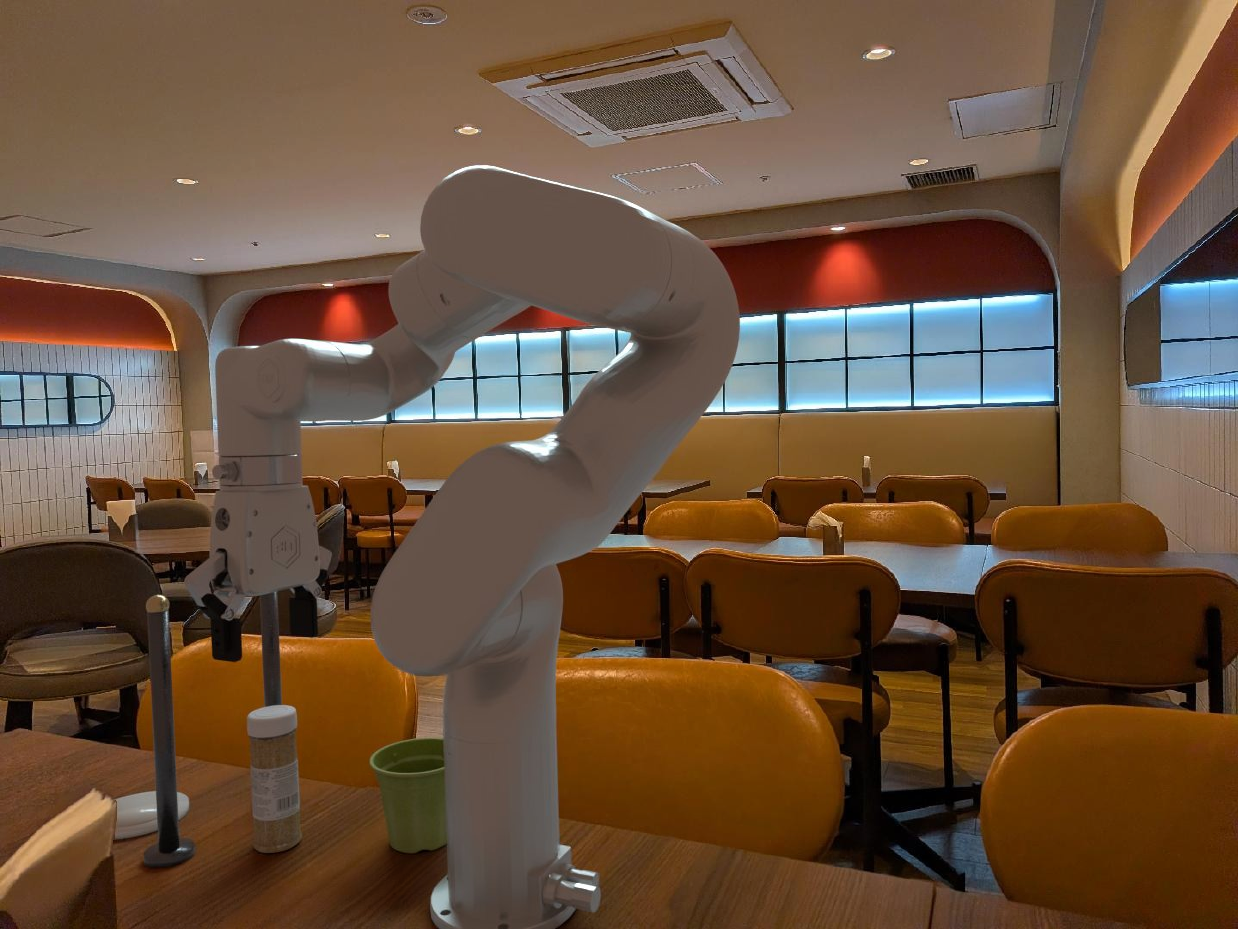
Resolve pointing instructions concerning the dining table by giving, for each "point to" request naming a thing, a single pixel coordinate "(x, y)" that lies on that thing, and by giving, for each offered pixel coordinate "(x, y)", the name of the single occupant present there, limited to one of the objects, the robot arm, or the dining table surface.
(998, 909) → the dining table surface
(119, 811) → the white round disc
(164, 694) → the pair of dark posts
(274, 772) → the sprinkles bottle
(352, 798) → the dining table surface
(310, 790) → the dining table surface
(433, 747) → the plant pot
